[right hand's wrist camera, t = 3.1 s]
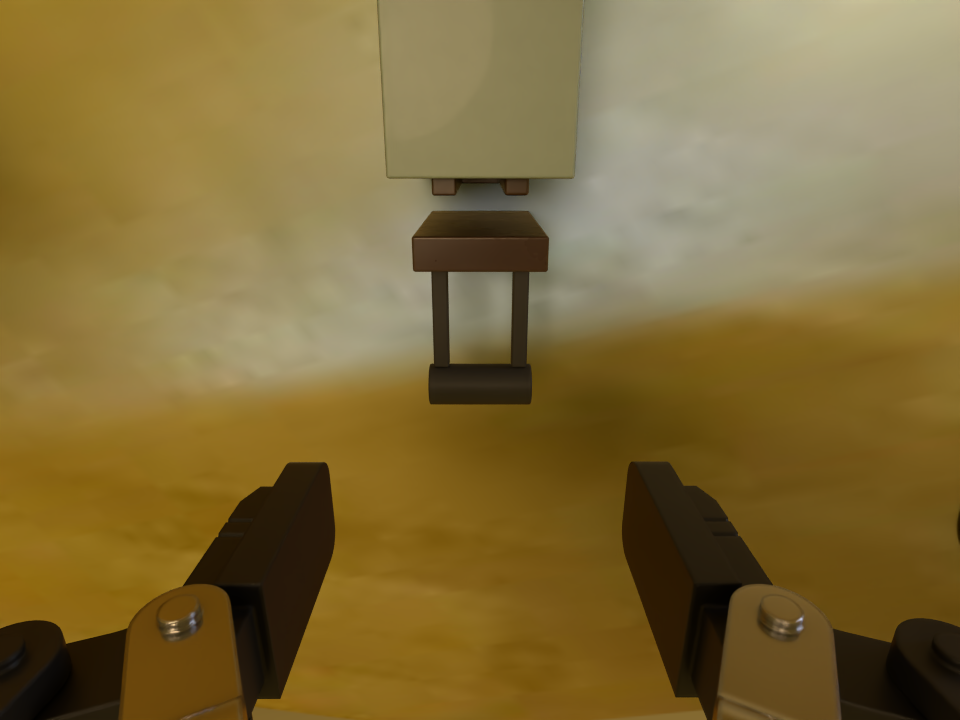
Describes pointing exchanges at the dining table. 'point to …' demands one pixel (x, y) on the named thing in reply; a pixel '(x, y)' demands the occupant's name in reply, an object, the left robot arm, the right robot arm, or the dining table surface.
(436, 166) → the cabinet
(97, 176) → the dining table surface
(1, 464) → the dining table surface
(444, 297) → the drawer
